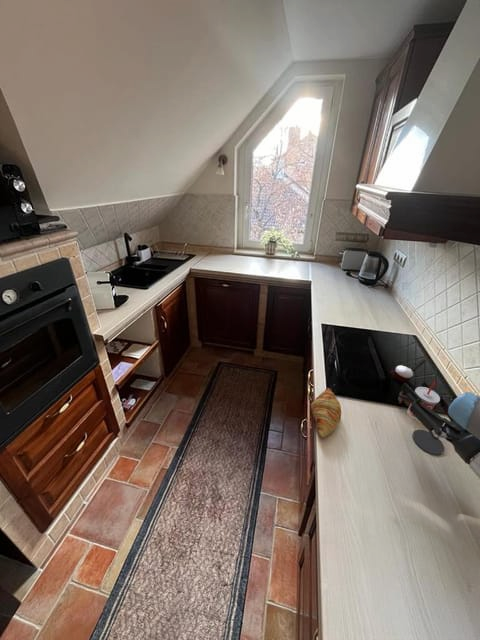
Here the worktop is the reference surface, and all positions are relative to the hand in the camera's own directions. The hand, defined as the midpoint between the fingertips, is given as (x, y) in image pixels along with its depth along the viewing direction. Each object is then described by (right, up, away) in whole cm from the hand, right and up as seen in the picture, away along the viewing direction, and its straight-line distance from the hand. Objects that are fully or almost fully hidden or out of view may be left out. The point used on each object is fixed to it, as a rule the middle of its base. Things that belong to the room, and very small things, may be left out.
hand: (413, 385), depth 79 cm
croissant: (-24, -13, +11) cm, 30 cm away
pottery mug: (+9, -13, +13) cm, 21 cm away
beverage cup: (0, -9, 0) cm, 9 cm away
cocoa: (+13, -5, +27) cm, 30 cm away
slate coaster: (+6, -19, +2) cm, 20 cm away
